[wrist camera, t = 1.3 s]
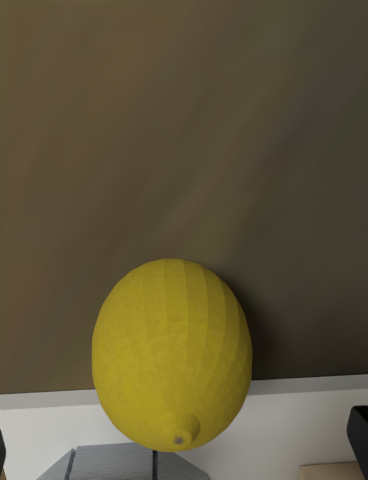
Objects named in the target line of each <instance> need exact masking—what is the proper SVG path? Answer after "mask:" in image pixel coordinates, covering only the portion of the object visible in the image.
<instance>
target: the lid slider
mask: <svg viewBox="0 0 368 480" xmlns="http://www.w3.org/2000/svg"><path fill="white" fill-rule="evenodd" d="M298 480H365V479H364V477H363V474H362V472H361V469H360V467H359V464H358V462H350V463H336V464H323V465H310V466H300V469H299V475H298Z"/></svg>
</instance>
